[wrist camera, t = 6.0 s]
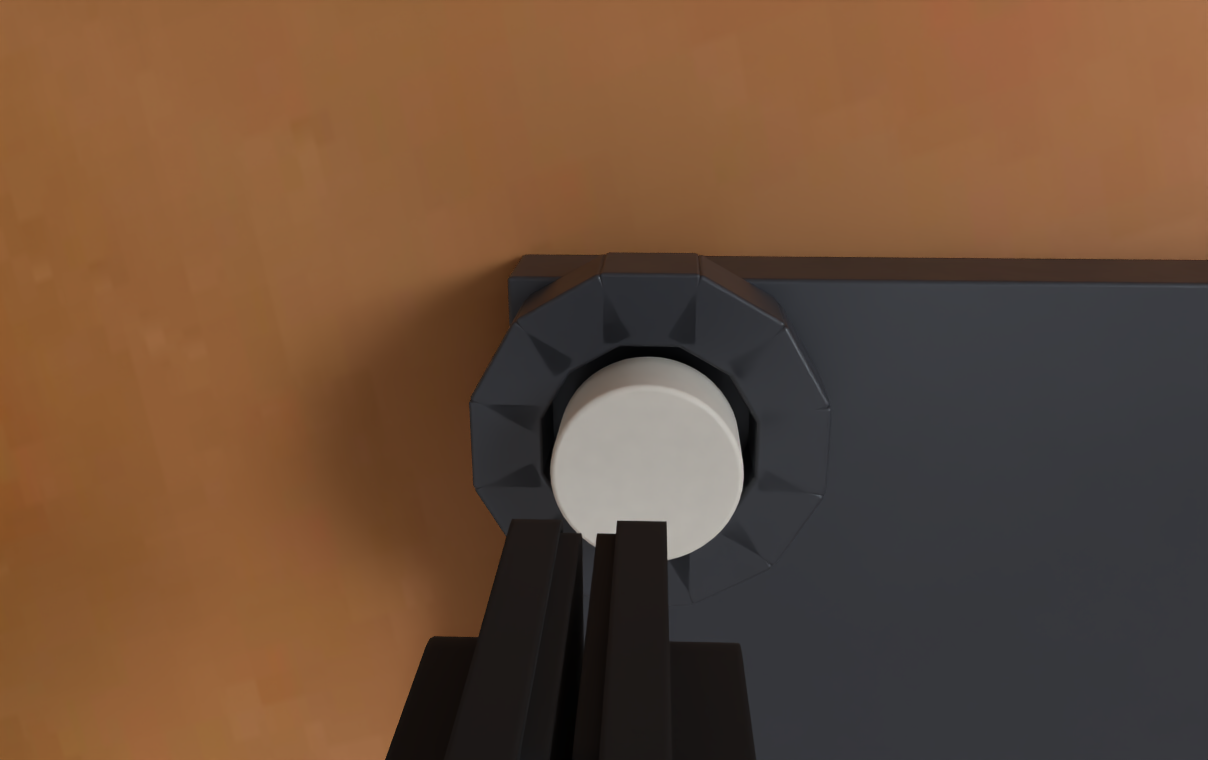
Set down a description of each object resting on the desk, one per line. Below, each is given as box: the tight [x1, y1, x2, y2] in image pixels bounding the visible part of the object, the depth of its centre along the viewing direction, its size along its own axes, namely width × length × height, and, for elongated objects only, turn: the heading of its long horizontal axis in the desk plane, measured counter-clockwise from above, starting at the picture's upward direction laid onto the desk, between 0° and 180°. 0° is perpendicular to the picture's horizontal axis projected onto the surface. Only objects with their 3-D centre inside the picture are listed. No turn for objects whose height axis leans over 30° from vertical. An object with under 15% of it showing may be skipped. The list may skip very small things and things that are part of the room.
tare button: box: [550, 357, 744, 560], centre depth 17 cm, size 3×3×2 cm
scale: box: [469, 253, 1208, 760], centre depth 20 cm, size 14×14×4 cm
